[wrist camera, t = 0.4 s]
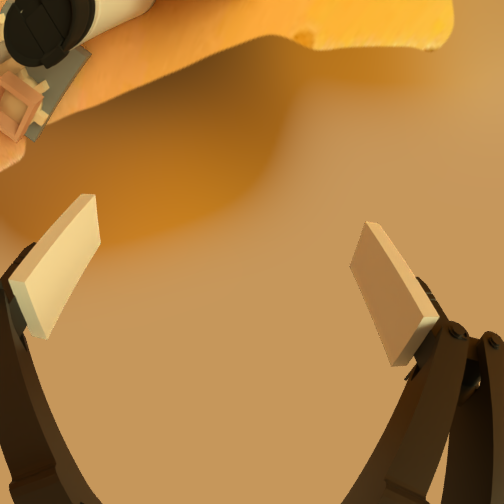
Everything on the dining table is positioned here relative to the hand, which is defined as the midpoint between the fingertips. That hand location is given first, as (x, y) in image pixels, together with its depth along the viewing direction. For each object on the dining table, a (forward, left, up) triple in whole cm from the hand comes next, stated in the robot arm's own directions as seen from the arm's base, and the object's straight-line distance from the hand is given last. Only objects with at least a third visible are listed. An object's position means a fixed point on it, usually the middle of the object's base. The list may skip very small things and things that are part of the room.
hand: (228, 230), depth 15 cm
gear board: (+19, -23, -27) cm, 40 cm away
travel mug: (+2, -16, -27) cm, 32 cm away
